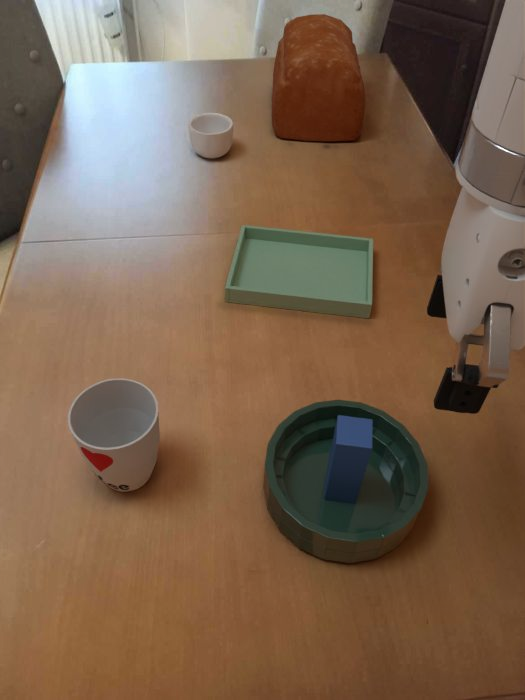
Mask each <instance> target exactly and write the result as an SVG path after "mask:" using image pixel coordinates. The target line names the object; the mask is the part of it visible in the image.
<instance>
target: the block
mask: <svg viewBox="0 0 525 700" xmlns="http://www.w3.org/2000/svg"><path fill="white" fill-rule="evenodd" d="M372 435H373V420H372V419H365V418H357V417H349V416H341V415H338V417H337V422H336V427H335V431H334V436H333V441H332V446H331V451H330V456H329V460H328V465H327V470H326V480H325V493H324V499H326V500H333V501H340V502H348V503H356V501H357V498H358V495H359V491H360V488H361V484H362V481H363V478H364V474H365V471H366V468H367V464H368V461H369V458H370V454H371V451H372Z"/></svg>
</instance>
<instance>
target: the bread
mask: <svg viewBox="0 0 525 700" xmlns="http://www.w3.org/2000/svg"><path fill="white" fill-rule="evenodd" d="M359 61H360V60H359V57H358V52H357V47H356V43H354V42H353V32H352V30H351V28H350V27H349V26H348V25H347V23H345V22H344V20H342V19H340V18H337V17H335V16H331V15H328V14H326V13H323V14H322V13H318V14H317V13H316V14H307V15H301V16H296V17H294V18H293V19H292V20H289V21H288V22H286V23H285V25H284V28H283V34H282V38H281V39H280V40H278V43H277V49H276V53H275V59H274V64H273V71H272V89H271V90H272V91H271V92H272V93H271V125H272V126H271V127H272V130H273V132H274V135H275V136H276V137H278V138H281V139H287V140H297V141H305V142H306V141H307V142H349V141H356V139H358V138H359V137H360V136H361V135H362V130H363V128H364V119H365V110H366V88H365V83H364V79H363V76H362V72H361V65H360V62H359Z"/></svg>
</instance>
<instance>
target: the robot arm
mask: <svg viewBox="0 0 525 700" xmlns="http://www.w3.org/2000/svg"><path fill="white" fill-rule="evenodd" d="M454 172H455V177H456V180H457V182H458V184H459V185H460V186H461V189H460V192H459V194H458V197H457V200H456V203H455V206H454V209H453V212H452V215H451V218H450V221H449V224H448V227H447V230H446V234H445V239H444V243H443V246H442V251H441V261H440V262H441V263H440V271H439V272H440V274H441V275H440V274H437V276H436V279H435V281H434V285H433V288H432V291H431V293H430V297H429V301H428V304H427V307H426V314H427V316H429V317H430V318H438V319H439V318H440V319H446V324H447V331H448V334H449V336H451V338H452V340H453V341H454V342H455V347H454V353H453V359H452V360H453V361H452V366H449V367H446V368H445V370H444V373H443V376H442V378H441V380H440V383H439V386H438V388H437V391H436V393H435V396H434V398H433V408H435V410H440V411H448V412H453V413H459V414H471V415H475V414H478V413H480V411H481V410H482V408H483V405H484V403H485V401H486V399H487V397H488V395H489V393H490V392H491V390H492V389H498V387H499V385H501V384H502V383H503V382H505V381H507V380H508V378H509V376H510V371H511V369H510V367H511V366H510V365H511V351H520V350H522V349H523V348H524V347H525V0H505V1H504V5H503V8H502V12H501V15H500V17H499V21H498V25H497V28H496V32H495V34H494V38H493V41H492V44H491V48H490V52H489V54H488V58H487V61H486V65H485V68H484V71H483V75H482V77H481V81H480V85H479V88H478V91H477V95H476V98H475V101H474V106H473V108H472V112H471V115H470V119H469V122H468V125H467V129H466V132H465V136H464V139H463V142H462V145H461V149H460V151H459V156H458V159H457V162H456V165H455V170H454ZM481 325H483V334H475V333H473V332H474V331H475V330H477V328H479V327H480V326H481ZM469 345H474V346H482V357H481V360H480V362H479V363H478V365H477V364H471V363H470V364H469V363H466V362H467V357H468V350H469Z"/></svg>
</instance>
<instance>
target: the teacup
mask: <svg viewBox="0 0 525 700" xmlns="http://www.w3.org/2000/svg"><path fill="white" fill-rule="evenodd" d="M187 128H188V135H189V136H188V137H189V141H190V146H191V147H192V149H193V150H194V152H195V153H196V154H197V155H198V156H200V157H202V158H204V159H205V158H206V159H218V158H221V157H223V156H225V155H226V154H228V152H229V151H230V149H231V148H232V144H233V138H234V137H233V136H234V123H233V120H232V118H230V117H229V116H227V115H225V114H223V113H218V112H203V113H199V114H196V115H194V116H193V117H191V118H190V119H189V121H188V127H187Z"/></svg>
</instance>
